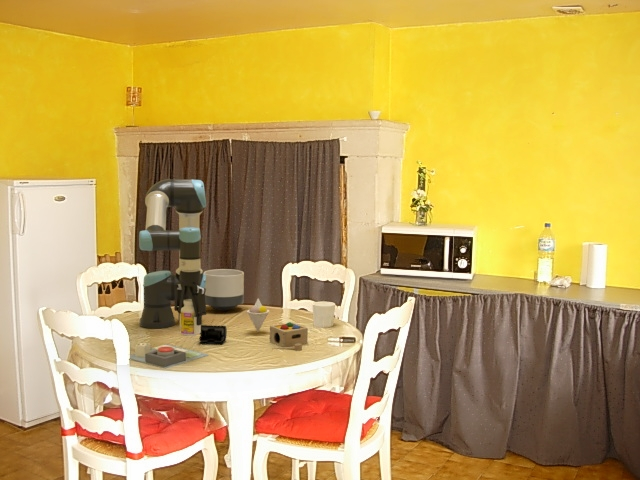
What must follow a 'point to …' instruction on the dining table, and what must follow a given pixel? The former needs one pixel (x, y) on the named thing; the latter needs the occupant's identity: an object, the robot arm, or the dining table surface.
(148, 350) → the die
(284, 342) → the pounding toy
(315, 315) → the cup
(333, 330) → the dining table surface
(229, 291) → the planter
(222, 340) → the end cap
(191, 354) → the board
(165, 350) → the pop button
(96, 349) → the dining table surface
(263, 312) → the toy
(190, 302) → the supplement bottle
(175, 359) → the button housing
